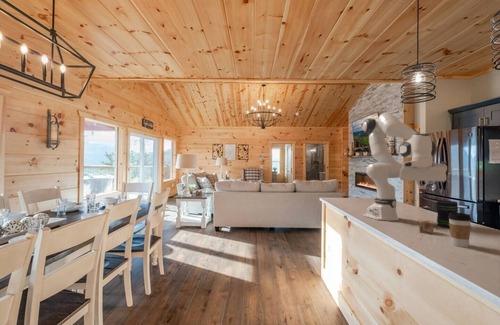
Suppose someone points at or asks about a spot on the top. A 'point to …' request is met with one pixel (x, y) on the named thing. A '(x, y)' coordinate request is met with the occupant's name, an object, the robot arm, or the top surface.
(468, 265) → the top surface
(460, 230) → the coffee cup
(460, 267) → the top surface
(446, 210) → the storage jar
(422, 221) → the lettered cube
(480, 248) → the top surface
